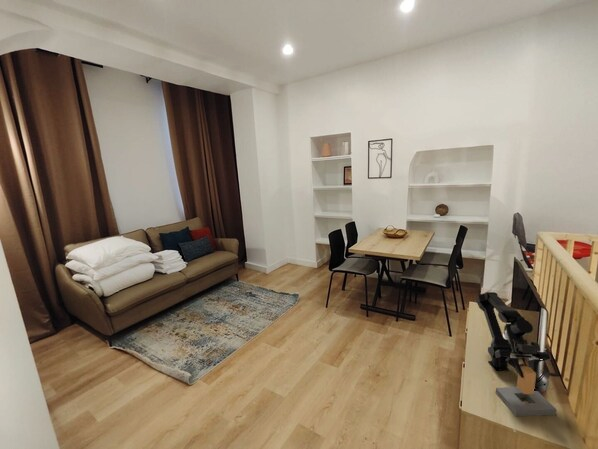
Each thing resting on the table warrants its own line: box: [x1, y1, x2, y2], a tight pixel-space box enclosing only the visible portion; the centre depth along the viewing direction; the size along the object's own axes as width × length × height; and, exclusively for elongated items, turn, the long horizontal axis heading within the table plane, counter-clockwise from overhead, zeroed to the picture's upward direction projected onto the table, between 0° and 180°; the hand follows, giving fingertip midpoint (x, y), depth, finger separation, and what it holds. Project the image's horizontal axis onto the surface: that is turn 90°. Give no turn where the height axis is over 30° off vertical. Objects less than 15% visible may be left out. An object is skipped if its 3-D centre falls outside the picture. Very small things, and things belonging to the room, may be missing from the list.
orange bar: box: [516, 365, 537, 394], centre depth 115 cm, size 4×4×10 cm
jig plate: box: [495, 386, 558, 417], centre depth 117 cm, size 12×16×2 cm
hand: (528, 378), depth 114 cm, fingers closed on orange bar, 4 cm apart
